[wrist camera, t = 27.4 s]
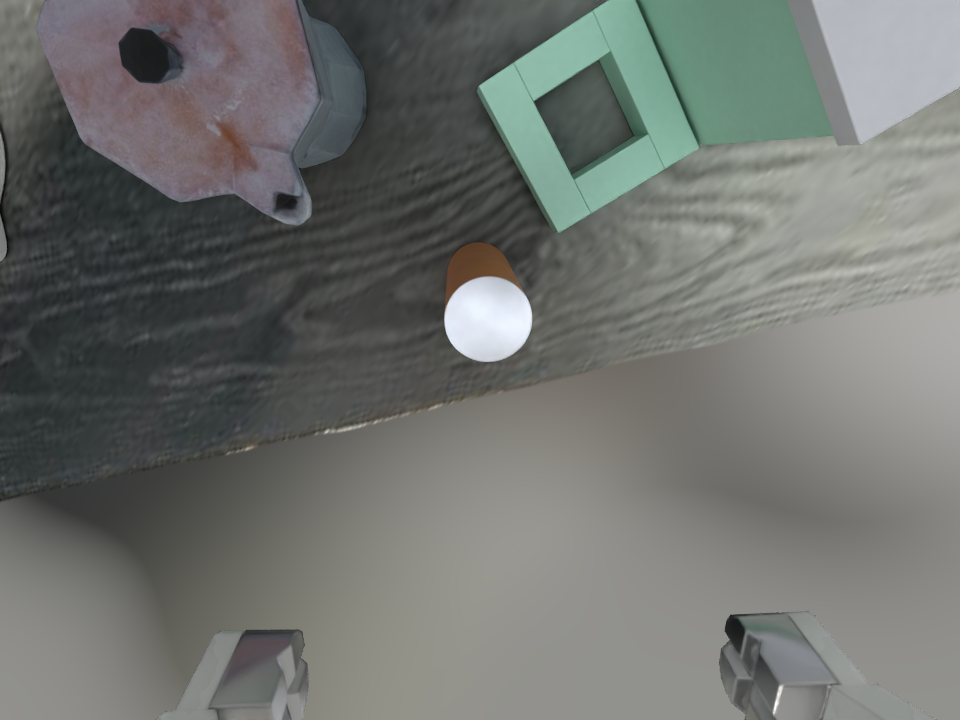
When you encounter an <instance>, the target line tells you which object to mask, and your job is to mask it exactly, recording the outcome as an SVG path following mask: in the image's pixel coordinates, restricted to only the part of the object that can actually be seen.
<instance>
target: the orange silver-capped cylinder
mask: <svg viewBox="0 0 960 720" xmlns="http://www.w3.org/2000/svg"><path fill="white" fill-rule="evenodd" d="M444 324H445V330H446V333H447V336H448V338H449V340H450V342H451V343H452V345H453V346H454V347H455V348H456V349H457V350H458V351H459V352H460V353H462V354H463V355H465V356H466V357H468V358H471V359H473V360H477V361H483V362H492V361H498V360H502V359H504V358H507V357H509V356H511V355H512V354H514V353H515V352H516V351H517V350H519V349H520V348H521V346H522V345H523V344H524V343H525V341H526V340H527V338H528V336H529V333H530V331H531V326H532V311H531V306H530V303H529V301H528V299H527V297H526V295H525V293H524V292H523V290H522V288H521V286H520V284H519V282H518V280H517V278H516V276H515V275H514V273H513V271H512V269H511V267H510V265H509V263H508V261H507V260H506V258H505V256H504V255H503V253H502V252H501V251H500V250H499V249H497V248H496V247H494V246H492V245H490V244H487V243H483V242H475V243H470V244H467V245H465V246H463V247H461V248H460V249H459V250H458V251H457V252H456V253H455V254H454V255H453V257H452V258H451V260H450V262H449V266H448V272H447V286H446V300H445V313H444Z"/></svg>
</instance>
